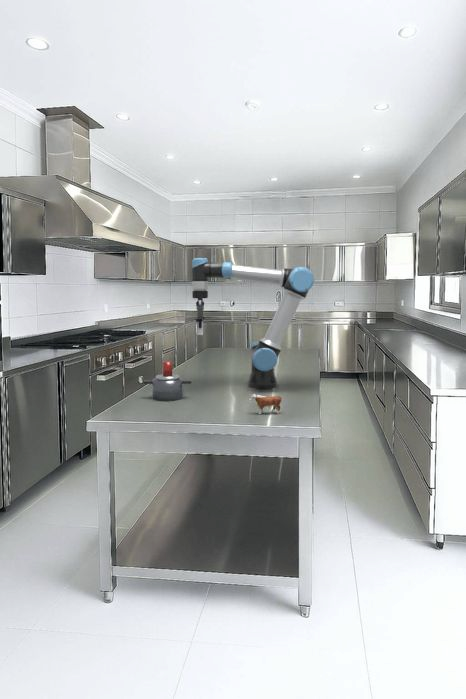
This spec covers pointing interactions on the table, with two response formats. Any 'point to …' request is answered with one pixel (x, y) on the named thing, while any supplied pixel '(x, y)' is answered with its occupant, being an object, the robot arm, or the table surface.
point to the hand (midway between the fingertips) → (200, 333)
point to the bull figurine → (266, 402)
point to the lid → (167, 373)
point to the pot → (167, 389)
